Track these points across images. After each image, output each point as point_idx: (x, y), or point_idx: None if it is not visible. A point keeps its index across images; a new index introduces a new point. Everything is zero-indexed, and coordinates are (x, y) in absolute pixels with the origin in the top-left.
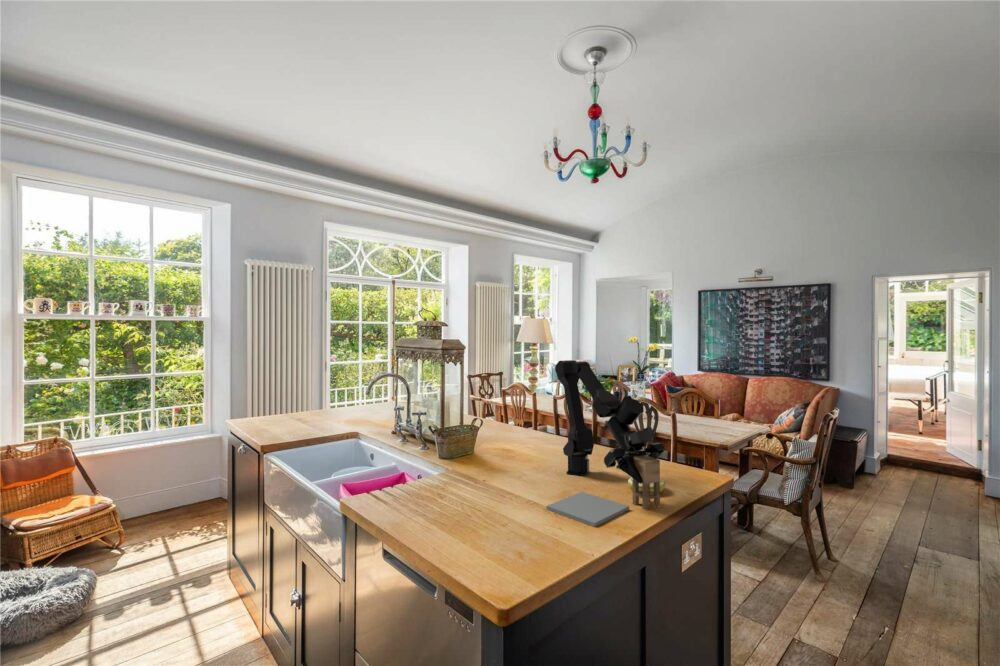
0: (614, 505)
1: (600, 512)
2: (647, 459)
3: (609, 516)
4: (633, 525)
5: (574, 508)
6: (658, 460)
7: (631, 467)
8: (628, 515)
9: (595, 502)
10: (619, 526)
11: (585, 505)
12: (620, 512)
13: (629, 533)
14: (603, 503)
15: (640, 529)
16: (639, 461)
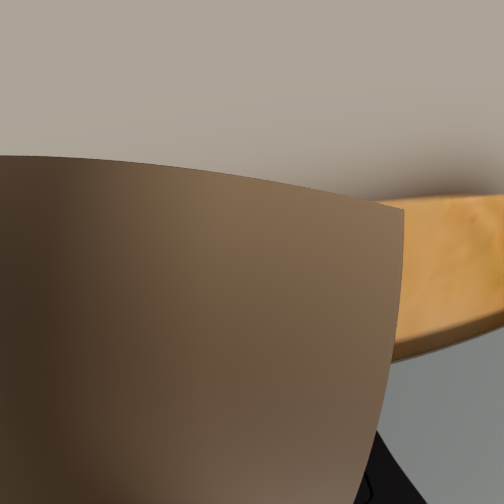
0: (409, 416)
1: (500, 375)
2: (93, 355)
3: (496, 329)
4: (454, 237)
5: None
6: (16, 159)
7: (400, 482)
8: (408, 321)
9: (436, 481)
10: (493, 264)
11: (485, 464)
12: (429, 352)
13: (493, 208)
14: (423, 459)
15: (453, 201)
16: (364, 439)
